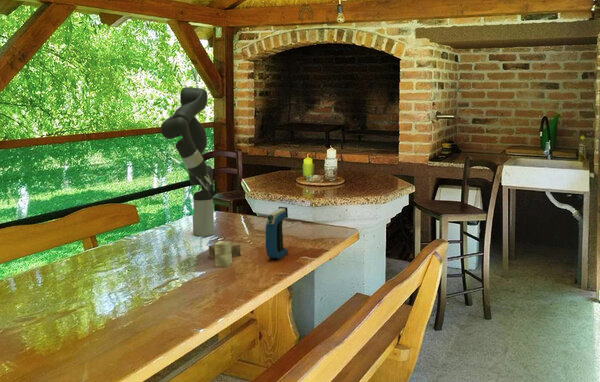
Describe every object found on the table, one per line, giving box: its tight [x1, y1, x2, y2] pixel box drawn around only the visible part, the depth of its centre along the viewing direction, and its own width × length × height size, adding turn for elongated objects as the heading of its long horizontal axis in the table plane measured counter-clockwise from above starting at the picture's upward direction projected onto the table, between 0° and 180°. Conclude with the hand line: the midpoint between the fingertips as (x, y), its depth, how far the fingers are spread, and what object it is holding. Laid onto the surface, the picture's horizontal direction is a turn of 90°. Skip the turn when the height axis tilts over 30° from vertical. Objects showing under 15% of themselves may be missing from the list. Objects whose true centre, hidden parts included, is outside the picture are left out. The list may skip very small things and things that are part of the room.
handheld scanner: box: [265, 206, 289, 260], centre depth 259 cm, size 5×16×20 cm, turn 161°
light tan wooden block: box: [208, 241, 242, 261], centre depth 261 cm, size 5×5×12 cm
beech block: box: [214, 240, 233, 268], centre depth 249 cm, size 5×5×9 cm
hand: (213, 195), depth 259 cm, fingers closed
